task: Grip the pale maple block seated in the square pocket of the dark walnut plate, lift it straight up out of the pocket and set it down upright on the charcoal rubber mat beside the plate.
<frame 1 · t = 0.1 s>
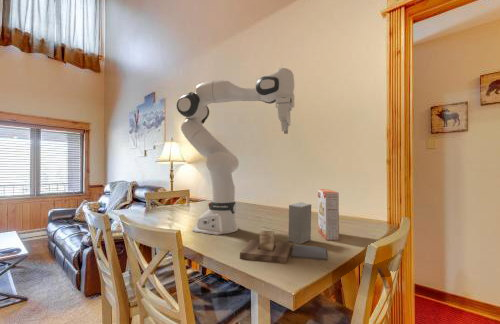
hand: (284, 132, 117), 48 cm above the table, tool pointing down, fingers open, 8 cm apart
cracker box: (327, 236, 113), on the table
skincare box: (300, 241, 106), on the table
maple block: (266, 242, 91), in the pocket plate
pocket plate: (266, 252, 91), on the table
rubber mat: (309, 252, 91), on the table
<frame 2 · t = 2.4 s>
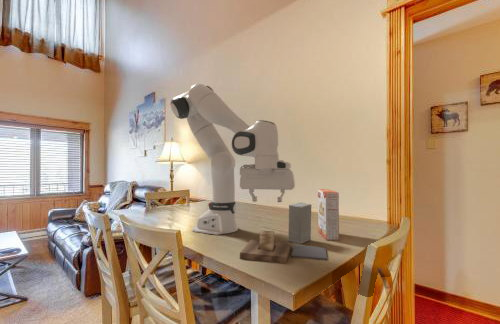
hand: (267, 201, 91), 19 cm above the table, tool pointing down, fingers open, 8 cm apart
nothing on the table moved.
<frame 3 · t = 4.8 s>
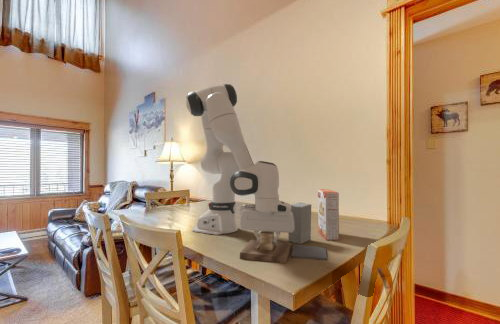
hand: (267, 242, 91), 4 cm above the table, tool pointing down, fingers closed on maple block, 4 cm apart
maple block: (266, 242, 91), in the pocket plate, touching gripper
everything else where it was.
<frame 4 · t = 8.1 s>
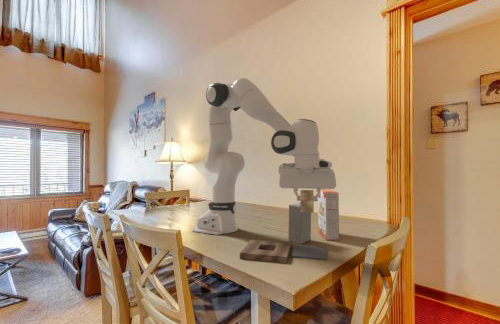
hand: (307, 200, 91), 19 cm above the table, tool pointing down, fingers closed on maple block, 4 cm apart
maple block: (307, 200, 91), point 19 cm above the table, touching gripper
everything else where it was.
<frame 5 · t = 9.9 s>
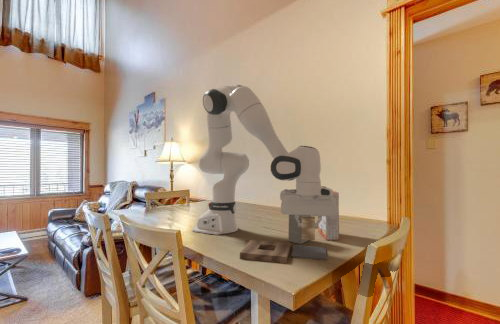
hand: (308, 227, 91), 9 cm above the table, tool pointing down, fingers closed on maple block, 4 cm apart
maple block: (308, 227, 91), point 9 cm above the table, touching gripper
everything else where it was.
when the fingers open (6 cm above the table, at t = 11.5 s): maple block drops 1 cm, resting on rubber mat.
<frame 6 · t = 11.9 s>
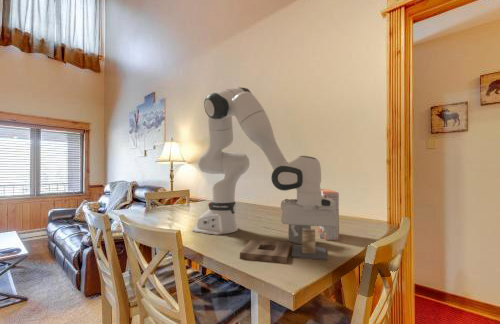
hand: (308, 237, 91), 6 cm above the table, tool pointing down, fingers open, 8 cm apart
maple block: (308, 240, 91), on the rubber mat, point 4 cm above the table
everything else where it was.
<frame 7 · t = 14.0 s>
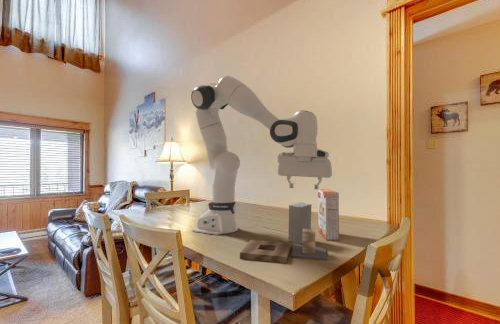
hand: (303, 188, 96), 23 cm above the table, tool pointing down, fingers open, 8 cm apart
nothing on the table moved.
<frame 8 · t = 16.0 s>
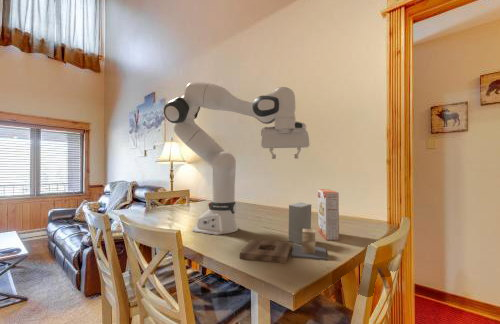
hand: (285, 158, 105), 35 cm above the table, tool pointing down, fingers open, 8 cm apart
nothing on the table moved.
at the end: maple block inside the target area on the rubber mat (0.1 cm from its centre), point 4.3 cm above the rubber mat's base; maple block tilted 0°; the gripper is holding nothing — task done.
